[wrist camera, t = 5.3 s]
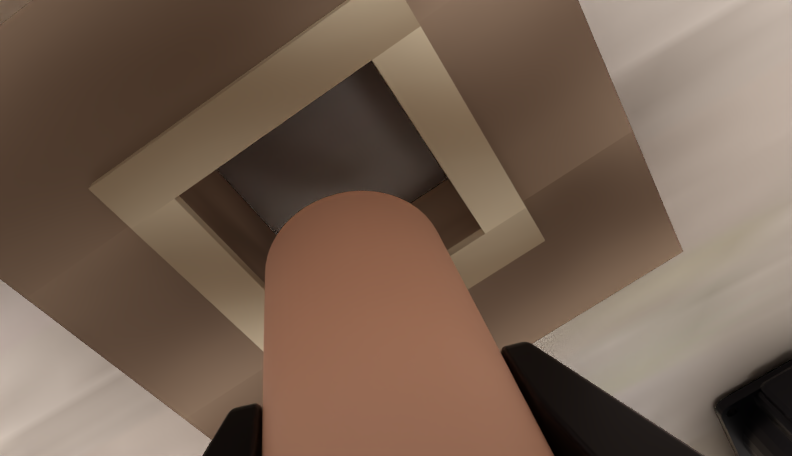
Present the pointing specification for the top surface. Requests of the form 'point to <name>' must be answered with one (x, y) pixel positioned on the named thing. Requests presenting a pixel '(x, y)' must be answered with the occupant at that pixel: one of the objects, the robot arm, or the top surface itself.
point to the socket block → (258, 115)
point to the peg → (380, 342)
